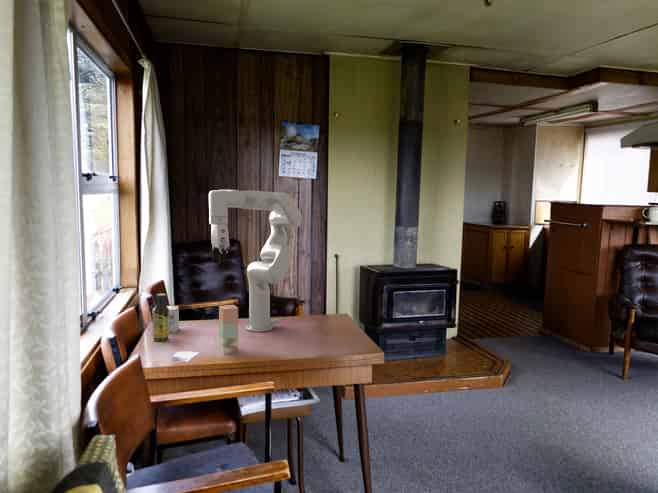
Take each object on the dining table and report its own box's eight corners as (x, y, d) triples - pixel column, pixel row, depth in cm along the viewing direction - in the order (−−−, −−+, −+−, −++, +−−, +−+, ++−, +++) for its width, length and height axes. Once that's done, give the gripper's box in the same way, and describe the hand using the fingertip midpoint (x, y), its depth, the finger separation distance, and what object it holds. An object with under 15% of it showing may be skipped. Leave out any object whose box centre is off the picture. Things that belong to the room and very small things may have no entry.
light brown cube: (233, 319, 201) (233, 304, 200) (238, 322, 196) (238, 307, 195) (219, 320, 198) (219, 306, 198) (223, 324, 193) (223, 309, 192)
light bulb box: (151, 332, 222) (151, 309, 220) (155, 328, 228) (155, 305, 227) (176, 332, 223) (175, 309, 221) (179, 328, 229) (179, 305, 228)
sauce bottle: (150, 340, 210) (149, 294, 208) (161, 336, 216) (160, 292, 213) (161, 342, 207) (160, 296, 205) (172, 339, 212) (171, 293, 210)
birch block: (233, 347, 202) (233, 333, 202) (238, 352, 197) (238, 337, 196) (219, 349, 200) (219, 335, 199) (223, 354, 194) (223, 339, 194)
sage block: (233, 333, 202) (233, 319, 201) (238, 337, 196) (238, 322, 196) (219, 335, 199) (219, 320, 198) (223, 339, 194) (223, 324, 193)
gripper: (234, 221, 199) (235, 263, 201) (221, 218, 214) (222, 257, 216) (216, 222, 195) (217, 264, 197) (203, 219, 210) (205, 259, 212)
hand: (219, 261), depth 207 cm, fingers open, 9 cm apart
